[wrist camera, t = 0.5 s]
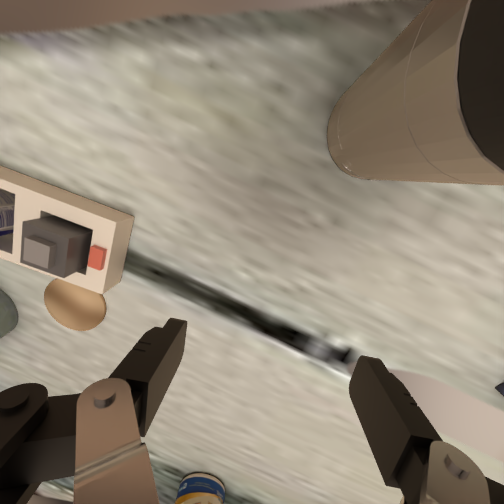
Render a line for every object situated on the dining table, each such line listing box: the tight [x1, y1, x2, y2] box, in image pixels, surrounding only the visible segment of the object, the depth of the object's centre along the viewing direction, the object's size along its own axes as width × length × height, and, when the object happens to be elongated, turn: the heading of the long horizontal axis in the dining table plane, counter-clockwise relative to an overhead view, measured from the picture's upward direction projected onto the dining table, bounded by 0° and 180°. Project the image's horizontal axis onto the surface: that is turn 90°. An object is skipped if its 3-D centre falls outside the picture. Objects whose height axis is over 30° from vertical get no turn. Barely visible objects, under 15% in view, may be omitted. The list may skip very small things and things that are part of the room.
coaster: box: [44, 278, 106, 331], centre depth 32 cm, size 8×8×1 cm
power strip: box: [0, 166, 134, 294], centre depth 27 cm, size 9×20×4 cm, turn 69°
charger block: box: [20, 215, 93, 278], centre depth 26 cm, size 4×4×7 cm
